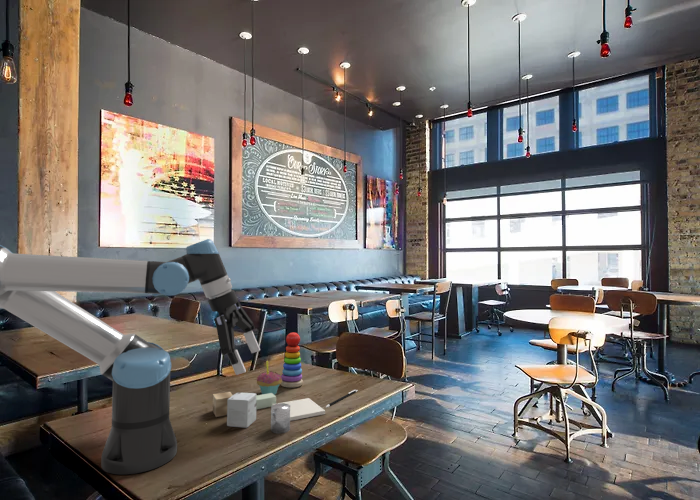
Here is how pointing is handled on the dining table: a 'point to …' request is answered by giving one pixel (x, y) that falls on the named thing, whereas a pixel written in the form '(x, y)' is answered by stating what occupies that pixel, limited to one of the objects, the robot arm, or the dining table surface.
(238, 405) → the skincare box
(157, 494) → the dining table surface
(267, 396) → the sage block
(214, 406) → the oak cube
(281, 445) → the dining table surface
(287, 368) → the stacking toy
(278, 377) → the cupcake
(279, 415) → the steel cylinder
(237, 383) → the dining table surface
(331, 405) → the pen
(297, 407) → the cream pad
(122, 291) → the robot arm
